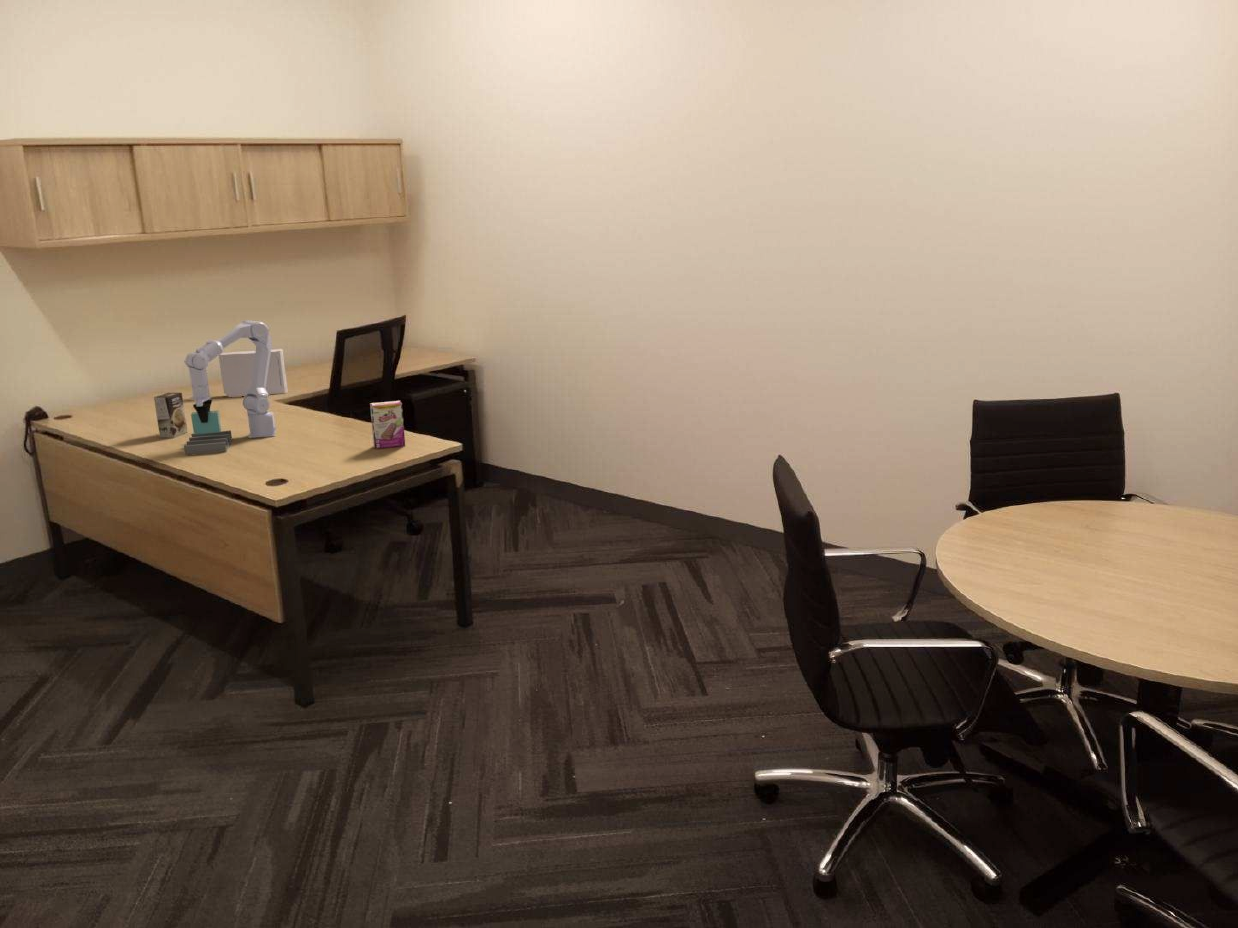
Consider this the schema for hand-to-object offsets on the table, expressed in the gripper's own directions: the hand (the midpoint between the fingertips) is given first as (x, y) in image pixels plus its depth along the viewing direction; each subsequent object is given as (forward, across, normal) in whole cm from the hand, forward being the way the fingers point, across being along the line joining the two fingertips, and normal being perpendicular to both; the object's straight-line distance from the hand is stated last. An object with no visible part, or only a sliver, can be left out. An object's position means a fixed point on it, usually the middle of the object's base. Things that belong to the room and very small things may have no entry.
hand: (205, 421), depth 356 cm
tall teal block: (+4, 0, 0) cm, 4 cm away
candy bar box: (+10, +21, +65) cm, 69 cm away
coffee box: (+10, -24, -16) cm, 31 cm away
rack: (+10, 0, 0) cm, 10 cm away
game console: (+10, -90, +9) cm, 91 cm away
